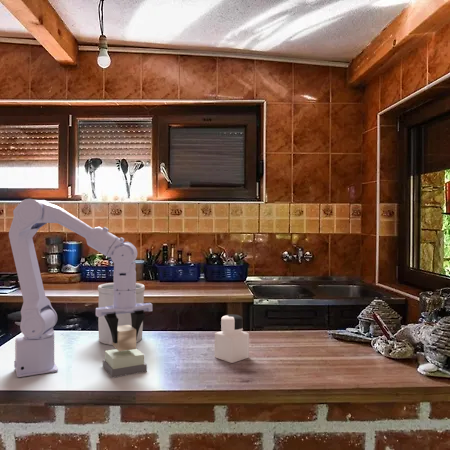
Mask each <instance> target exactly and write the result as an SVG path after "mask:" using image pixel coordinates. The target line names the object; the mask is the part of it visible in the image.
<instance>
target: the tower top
mask: <svg viewBox="0 0 450 450" xmlns="http://www.w3.org/2000/svg"><path fill="white" fill-rule="evenodd" d="M104 359H105V361H106V362H107V363H108V364H109V365H110V366H111V367H112V368H113V369H118V368H124V367H131V366H137V365H143V364H144V362H145V354H144V353H143V352H142V351H140V350H139V349H137V347H136V349H132V350H125V351H118V350H117V349H116V348H115V349H108V350H104Z"/></svg>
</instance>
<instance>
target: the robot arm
mask: <svg viewBox="0 0 450 450" xmlns="http://www.w3.org/2000/svg"><path fill="white" fill-rule="evenodd" d="M12 215H13V218H12V221H11V224H10V226H9V227H10V228H9V231H8V238H9V243H10V246H11V252H12V255H13V261H14V264H15V268H16V269H15V270H16V274H17V278H18V282H19V287H20V292H21V296H22V300H23V301H22V302H23V303H22V306H21V309H20V315H21V319H20V324H19V328H20V332H21V334H23V336H21V337H17V338H15V340H14V341H15V342H14V343H15V344H14V349H15V350H14V352H15V353H14V357H15V358H14V362H13V363H14V365H13V366H14V369H15V373H16V377H17V378H24V377H29V376H35V375H43V374H48V373H53V372H58V371H59V368H58V367H57V364H56V363H55V330H54V326H55V325H56V324H57V322H58V314H57V312H56V310H55V309H54V308H53V306H52V304H51V300H50V299H49V298H48V296H46V292H45V288H44V285H43V284H44V283H43V280H42V275H41V271H40V266H39V261H38V258H37V257H38V256H37V252H36V248H35V244H34V239H33V238H34V236H35V235H36V234H37V232H38V231H39V230H40V228H42V227H43V226H45V225H47V224H48V223H49V224H59V226H62V227H64V228H66V229H68V230H70V231H71V232H73V233H75V234H77V235H79V236H81V237H82V238H85V242H86V245H87V246H88V247H89V248H91V249H93V250H95V251H97V252H98V253H99V254H102V255H103V256H105V257H107V258H110V259H111V262H112V263H113V283H114V289H113V294H114V295H113V305H112V306H106V307H100V308H99V307H96V308H95V317H97V318H98V317H101V316H104V317H105V319H106V321H107V323H108V326H109V328H110V331H111V335H112V340H113V342H114V343H117V340H118V336H117V328H118V318H117V316H116V314H125V313H131V321H132V327H133V328H135V329H136V340H137V335H138V332H139V328H140V326H141V324H142V322H143V323H144V320H145V318H146V313H145V312H153V303H151V302H144V303H136V283H137V271H136V267H137V265H136V260H137V257H138V249H137V248H136V246H135V244H133V243H132V242H129V241H125V238H124V237H122V236H121V237H118V236H116V235H115V234H113V233H112V232H109V231H110V230H109V228H108V227H106V226H104V227H102V226H96V227H92V226H91V225H89V224H87V223H86V222H84V221H82V220H81V219H79V218H78V217H77V216H75V215H73V214H72V213H70V212H68V211H67V210H65V208H62V207H61V206H58V205H56V204H54V203H51V202H49V201H48V200H45V199H33V198H25V199H23V200H21V202H19V203H18V205H17V206H16V207H15V208H14V209H13V210H12Z"/></svg>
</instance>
